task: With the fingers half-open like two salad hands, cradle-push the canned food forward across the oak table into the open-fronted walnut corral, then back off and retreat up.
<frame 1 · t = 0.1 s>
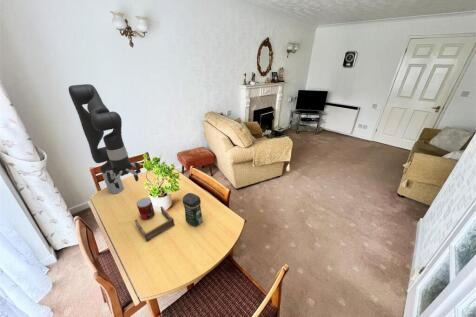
hand: (127, 184, 98), 29 cm above the table, fingers open, 8 cm apart
canned food: (148, 215, 119), on the table
corral: (155, 225, 112), on the table
coffee jar: (194, 221, 116), on the table
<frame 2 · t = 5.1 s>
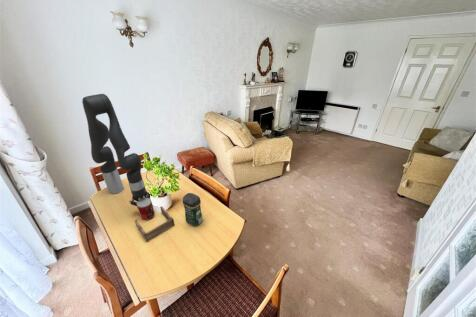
hand: (144, 208, 121), 2 cm above the table, fingers closed
canned food: (148, 216, 119), on the table, touching gripper
everything else where it was.
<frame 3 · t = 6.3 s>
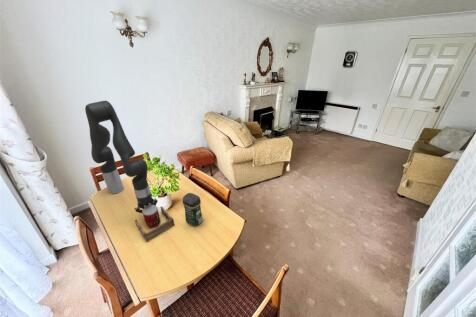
hand: (149, 216, 116), 2 cm above the table, fingers closed
canned food: (153, 223, 113), on the table, touching gripper
everything else where it was.
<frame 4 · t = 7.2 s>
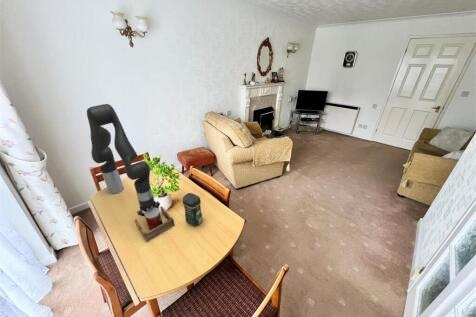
hand: (151, 219, 114), 2 cm above the table, fingers closed
canned food: (156, 226, 112), on the table, touching gripper
everything else where it was.
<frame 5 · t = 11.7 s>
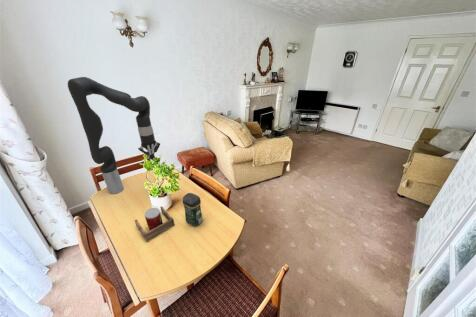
hand: (152, 159, 121), 29 cm above the table, fingers closed
canned food: (156, 227, 112), on the table
everything else where it was.
at the end: canned food inside the target area on the corral (1.0 cm from its centre), point 0.0 cm above the corral's base; canned food tilted 0° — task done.
